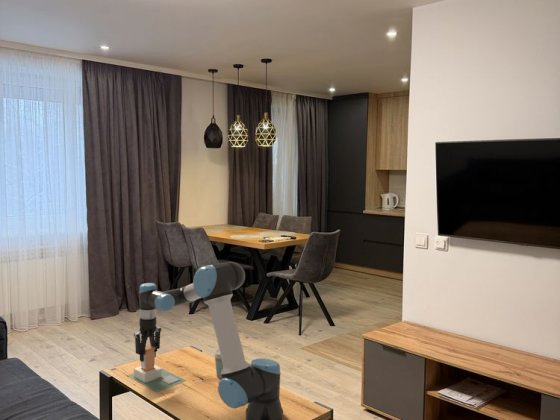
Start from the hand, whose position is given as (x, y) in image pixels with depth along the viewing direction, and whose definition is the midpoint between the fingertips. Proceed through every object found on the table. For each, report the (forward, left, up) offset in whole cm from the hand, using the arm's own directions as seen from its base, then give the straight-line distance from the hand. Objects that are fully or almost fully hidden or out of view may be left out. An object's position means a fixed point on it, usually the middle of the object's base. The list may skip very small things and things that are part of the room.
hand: (147, 366), depth 226 cm
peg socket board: (-4, -2, -7) cm, 8 cm away
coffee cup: (-22, -27, -7) cm, 35 cm away
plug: (0, 0, -5) cm, 5 cm away
